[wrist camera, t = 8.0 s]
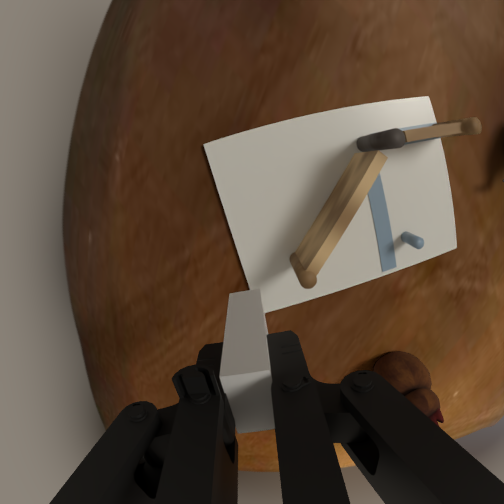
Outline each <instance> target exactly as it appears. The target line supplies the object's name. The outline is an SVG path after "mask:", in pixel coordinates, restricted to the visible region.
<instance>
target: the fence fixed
mask: <svg viewBox="0 0 504 504" xmlns="http://www.w3.org/2000/svg"><path fill="white" fill-rule="evenodd" d="M481 130H482V126H481V123H480V121H479V119H478V118H476V117H472V118H465V119H459V120H453V121H447V122H441V123H436V124H433V125H432V126H429V127H422V128H416V129H410V130H404V131H401V130H400V129H398V128H393V129H389V130H385V131H381V132H377V133H373V134H369V135H366V136H362V137H359V138H358V140H357V143H356V144H357V148H358V149H359V150H360V151H362V152H368V151H376V150H387V149H396V148H401V147H403V146H404V144H405V142H411V141H416V140H422V139H427V138H433V137H436V138H439V137H449V136H460V135H472V134H480V133H481Z"/></svg>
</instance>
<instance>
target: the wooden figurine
mask: <svg viewBox="0 0 504 504" xmlns="http://www.w3.org/2000/svg"><path fill="white" fill-rule="evenodd" d="M373 372H376V373H378V374H379V375H381V376H382V377H383V378H384V379H385V380H387V381H388V382H389V383H390V384H391V385H392V386H393V387H394V388H396V389H397V390H398V391H399V392H400V393H401V394H402V395H404V396H405V397H406V398H407V399H408V400H409V401H410V402H411V403H413V404H414V405H415V406H416V407H417V408H418V409H419V410H420V411H422V412H423V413H424V414H425V415H426V416H427V417H428V418H430V419H431V420H432V421H433V422H434V423H435V424H436V425H438V422H441V423H443V422H444V419H443V416H442V414H441V411H440V403H439V399H438V397H437V395H436V394H435V393H434V392H433V391H432V390H430V389H431V384H432V383H431V378H430V373H429V371H428V370H427V368H426V367H425V365H424V364H423V363H422V362H421V361H420V360H419V359H418V358H417V357H415V356H414V355H412V354H409V353H406V352H401V351H396V352H392V353H389V354H386V355H385V356H383V357H381V358H380V359H379V360H378V361H377V362H376V364H375V366H374V369H373ZM437 421H438V422H437ZM438 426H439V425H438Z"/></svg>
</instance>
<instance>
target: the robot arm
mask: <svg viewBox="0 0 504 504" xmlns="http://www.w3.org/2000/svg"><path fill="white" fill-rule="evenodd" d="M172 381H173V383H174V386H175V388H176V391H177V393H178V395H179V398H180V400H179V403H177V404H175V405H173V406H170V407H166V408H162V409H158V410H157V408H156V407H155V406H154V405H153V404H152V403H150V402H147V401H139V402H135V403H132V404H130V405H128V406H126V407H125V408H124V409H123V410H122V411H121V412H120V414H119V415H118V416H117V418H116V419H115V420H114V421H113V423H112V424H111V425H110V426H109V428H108V429H107V430H106V432H105V433H104V434H103V436H102V437H101V438H100V439H99V441H98V442H97V443H96V444H95V446H94V447H93V448H92V449H91V451H90V452H89V453H88V455H87V456H86V457H85V458H84V460H83V461H82V462H81V464H80V465H79V466H78V467H77V469H76V470H75V471H74V473H73V474H72V475H71V476H70V478H69V479H68V480H67V482H66V483H65V484H64V485H63V487H62V488H61V489H60V491H59V492H58V493H57V495H56V496H55V497H54V498H53V500H52V501H51V502H50V504H237V499H238V443H237V439H236V436H235V426H236V429H237V432H238V433H246V432H255V431H263V430H270V429H275V433H276V442H277V452H278V461H279V470H280V480H281V489H282V498H283V504H350V501H349V497H348V494H347V490H346V487H345V483H344V480H343V476H342V473H341V469H340V465H339V462H338V459H337V455H336V452H335V448H334V445H333V443H341V445H342V446H343V448H344V449H345V451H346V452H347V453H348V455H349V456H350V457H351V459H352V460H353V461H354V463H355V464H356V466H357V467H358V468H359V469H360V471H361V472H362V473H363V475H364V476H365V478H366V479H367V480H368V482H369V483H370V484H371V486H372V487H373V488H374V490H375V491H376V492H377V494H378V495H379V496H380V498H381V499H382V500H383V501H384V503H385V504H504V483H503V482H502V481H501V480H499V479H498V478H497V477H496V476H495V475H493V474H492V473H491V472H490V471H489V470H488V469H487V468H486V467H484V466H483V465H482V464H481V463H480V462H479V461H478V460H476V459H475V458H474V457H473V456H472V455H471V454H469V453H468V452H467V451H466V450H465V449H464V448H462V447H461V446H460V445H459V444H458V443H457V442H456V441H455V440H453V439H452V438H451V437H450V436H449V435H448V434H447V433H445V432H444V431H443V430H442V429H441V428H440V427H439V426H438V425H436V424H435V423H434V422H433V421H432V420H431V419H430V418H428V417H427V416H426V415H425V414H424V413H423V412H422V411H420V410H419V409H418V408H417V407H416V406H415V405H414V404H413V403H411V402H410V401H409V400H408V399H407V398H406V397H405V396H404V395H402V394H401V393H400V392H399V391H398V390H397V389H396V388H394V387H393V386H392V385H391V384H390V383H389V382H388V381H387V380H385V379H384V378H383V377H382V376H381V375H379V374H378V373H376V372H373V371H368V370H361V371H356V372H352V373H350V374H349V375H347V376H345V377H344V379H343V380H342V381H341V384H328V383H322V382H319V381H317V380H315V379H313V378H312V377H311V375H310V374H309V371H308V368H307V364H306V361H305V358H304V354H303V351H302V348H301V345H300V342H299V338H298V336H297V335H296V334H295V333H293V332H292V331H291V330H290V331H285V332H279V333H273V334H268V330H267V325H266V319H265V314H264V308H263V303H262V297H261V292H260V289H254V290H248V291H242V292H236V293H230V295H229V303H228V311H227V319H226V327H225V335H224V342H221V343H214V344H206V345H205V346H204V347H203V348H202V349H201V350H200V351H199V354H198V358H197V363H196V365H192V366H187V367H185V368H183V369H181V370H179V371H178V372H177V373H175V374H174V376H173V378H172Z"/></svg>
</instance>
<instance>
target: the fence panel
mask: <svg viewBox="0 0 504 504" xmlns="http://www.w3.org/2000/svg"><path fill="white" fill-rule="evenodd" d="M387 158H388V157H387V156H385V155H384V154H383V153H382V152H380V151H379V150H376V151H368V152H360V153H354V155H353V157H352V159H351V160H350V162H349V164H348V165H347V167H346V169H345V171H344V172H343V174H342V176H341V177H340V179H339V181H338V182H337V184H336V186H335V187H334V189H333V191H332V193H331V194H330V196H329V198H328V199H327V201H326V203H325V204H324V206H323V207H322V209H321V211H320V212H319V214H318V216H317V217H316V219H315V221H314V222H313V224H312V225H311V227H310V229H309V230H308V232H307V234H306V235H305V237H304V238H303V240H302V242H301V243H300V245H299V246H298V248H297V250H296V251H295V252H294V253H292V254H291V255H290V258H289V261H290V263H291V265H292V267H293V270H294V272H295V274H296V276H297V278H298V280H299V283H300V285H301V286H302V287H303V288H305V289H311V288H313V287H314V286H315V285H316V283H317V277H316V276H317V274H318V273H319V271H320V270H321V268H322V267H323V265H324V264H325V262H326V260H327V259H328V257H329V256H330V254H331V253H332V251H333V249H334V248H335V246H336V245H337V243H338V242H339V240H340V238H341V237H342V235H343V234H344V232H345V230H346V229H347V227H348V225H349V224H350V222H351V220H352V219H353V217H354V216H355V214H356V212H357V211H358V209H359V207H360V206H361V204H362V202H363V200H364V199H365V197H366V195H367V194H368V192H369V190H370V188H371V187H372V185H373V183H374V181H375V180H376V178H377V176H378V174H379V173H380V171H381V169H382V167H383V166H384V164H385V162H386V160H387Z"/></svg>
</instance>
